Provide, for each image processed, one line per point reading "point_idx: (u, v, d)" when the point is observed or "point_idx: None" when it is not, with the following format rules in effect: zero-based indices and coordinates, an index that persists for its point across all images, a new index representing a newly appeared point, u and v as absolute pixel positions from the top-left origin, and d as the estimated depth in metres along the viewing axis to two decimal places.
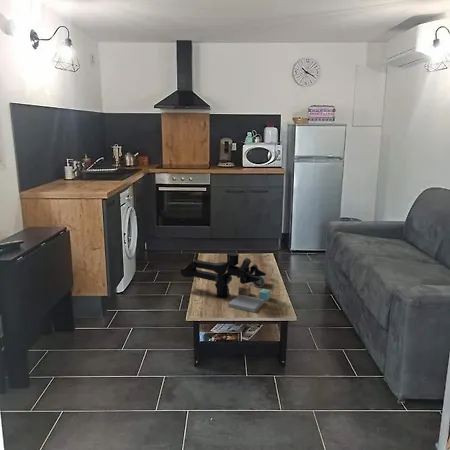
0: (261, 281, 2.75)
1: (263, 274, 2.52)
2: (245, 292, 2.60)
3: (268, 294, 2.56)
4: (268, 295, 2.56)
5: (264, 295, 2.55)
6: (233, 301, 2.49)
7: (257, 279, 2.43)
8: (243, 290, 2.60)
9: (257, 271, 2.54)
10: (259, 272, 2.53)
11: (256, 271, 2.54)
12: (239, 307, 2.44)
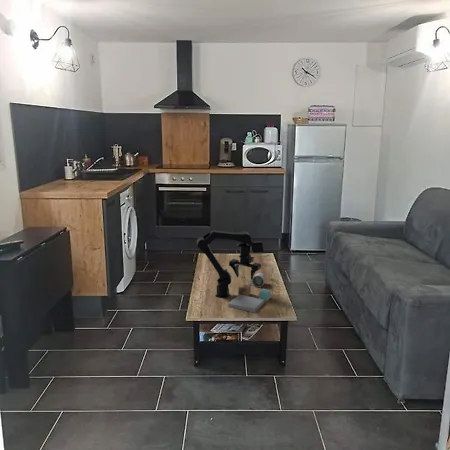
0: (260, 281, 2.75)
1: (237, 275, 2.63)
2: (245, 292, 2.60)
3: (268, 294, 2.56)
4: (268, 295, 2.56)
5: (264, 295, 2.55)
6: (233, 301, 2.49)
7: (252, 278, 2.59)
8: (243, 290, 2.60)
9: (237, 268, 2.63)
10: (237, 270, 2.63)
11: (237, 267, 2.63)
12: (239, 307, 2.44)
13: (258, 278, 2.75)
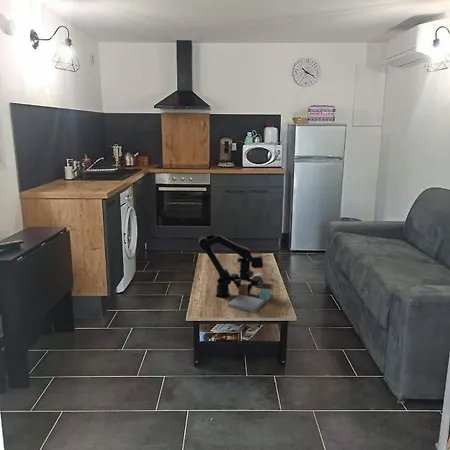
0: None
1: None
2: (245, 292, 2.60)
3: (268, 294, 2.56)
4: (268, 295, 2.56)
5: (264, 295, 2.55)
6: (233, 301, 2.49)
7: (249, 292, 2.62)
8: (243, 290, 2.60)
9: (240, 283, 2.64)
10: None
11: (240, 282, 2.64)
12: (239, 307, 2.44)
13: None
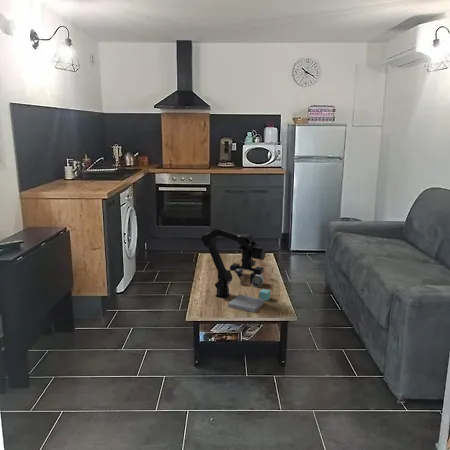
0: (259, 281, 2.75)
1: None
2: (247, 282, 2.49)
3: (268, 294, 2.56)
4: (268, 295, 2.56)
5: (264, 295, 2.55)
6: (233, 301, 2.49)
7: None
8: (246, 279, 2.49)
9: (241, 273, 2.53)
10: (241, 275, 2.53)
11: (241, 272, 2.53)
12: (239, 307, 2.44)
13: (257, 278, 2.75)
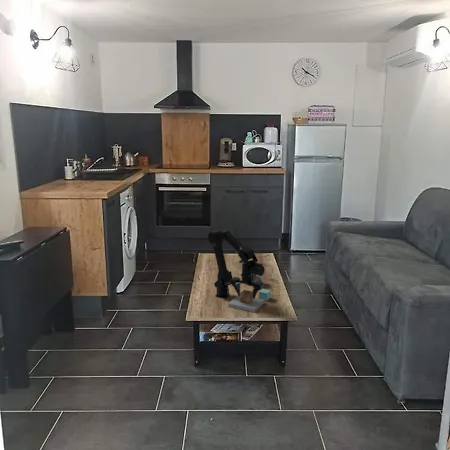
0: None
1: (239, 293, 2.51)
2: (247, 299, 2.46)
3: (268, 294, 2.56)
4: (268, 295, 2.56)
5: (264, 295, 2.55)
6: (233, 301, 2.49)
7: (254, 297, 2.46)
8: (245, 296, 2.46)
9: (239, 286, 2.50)
10: (239, 289, 2.50)
11: (239, 285, 2.50)
12: (239, 307, 2.44)
13: (256, 278, 2.75)
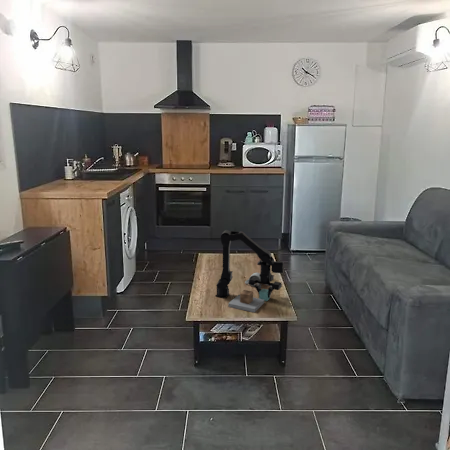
0: None
1: None
2: (247, 299, 2.46)
3: None
4: None
5: (264, 295, 2.55)
6: (233, 301, 2.49)
7: (269, 296, 2.56)
8: (245, 296, 2.46)
9: (260, 287, 2.59)
10: (260, 289, 2.59)
11: (260, 286, 2.58)
12: (239, 307, 2.44)
13: None
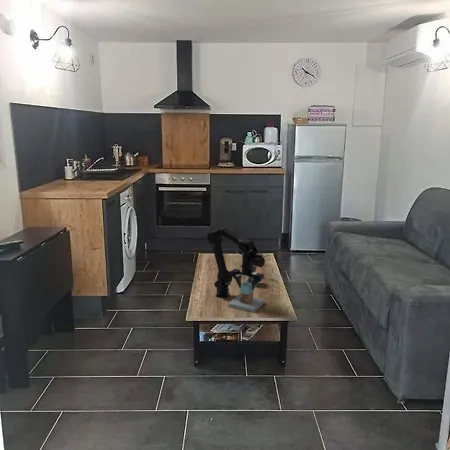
0: None
1: (240, 285, 2.49)
2: (247, 299, 2.46)
3: (250, 287, 2.46)
4: (250, 288, 2.46)
5: (246, 288, 2.45)
6: (233, 301, 2.49)
7: (253, 288, 2.45)
8: (245, 296, 2.46)
9: (240, 278, 2.49)
10: (240, 281, 2.49)
11: (240, 277, 2.49)
12: (239, 307, 2.44)
13: None
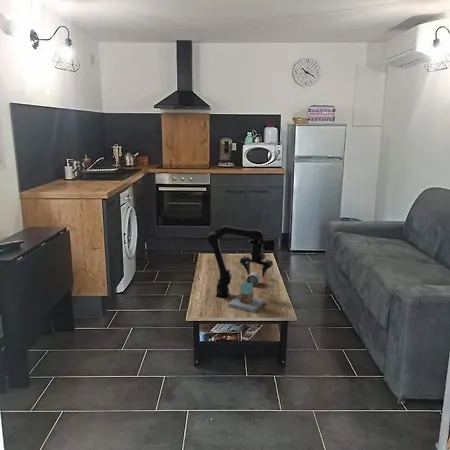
0: (255, 280, 2.76)
1: (249, 272, 2.60)
2: (247, 299, 2.46)
3: (250, 287, 2.46)
4: (250, 288, 2.46)
5: (246, 288, 2.45)
6: (233, 301, 2.49)
7: (264, 275, 2.55)
8: (245, 296, 2.46)
9: (249, 265, 2.59)
10: (249, 268, 2.59)
11: (248, 264, 2.59)
12: (239, 307, 2.44)
13: (252, 277, 2.76)
